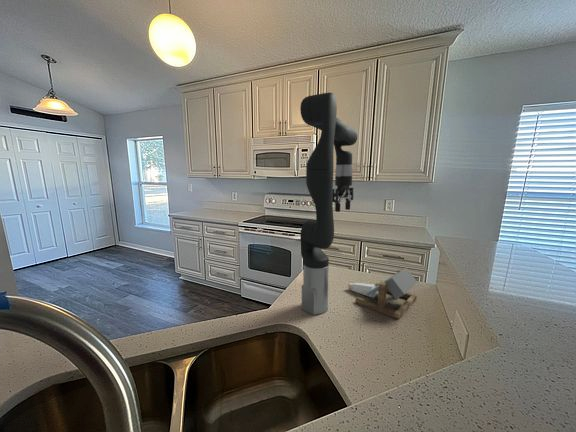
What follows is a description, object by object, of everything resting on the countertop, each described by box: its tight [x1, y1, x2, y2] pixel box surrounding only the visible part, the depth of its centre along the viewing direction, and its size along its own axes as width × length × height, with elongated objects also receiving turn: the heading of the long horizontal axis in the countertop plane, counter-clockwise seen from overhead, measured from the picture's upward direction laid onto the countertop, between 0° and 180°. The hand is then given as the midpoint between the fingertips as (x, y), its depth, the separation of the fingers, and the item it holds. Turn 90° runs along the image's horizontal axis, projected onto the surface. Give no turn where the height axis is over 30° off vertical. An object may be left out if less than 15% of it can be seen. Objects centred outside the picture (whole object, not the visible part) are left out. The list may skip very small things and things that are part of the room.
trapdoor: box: [367, 267, 418, 300], centre depth 94 cm, size 14×13×7 cm
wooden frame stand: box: [355, 268, 418, 320], centre depth 96 cm, size 19×16×11 cm
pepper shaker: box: [347, 282, 377, 299], centre depth 103 cm, size 5×5×11 cm
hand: (342, 210), depth 114 cm, fingers open, 8 cm apart
